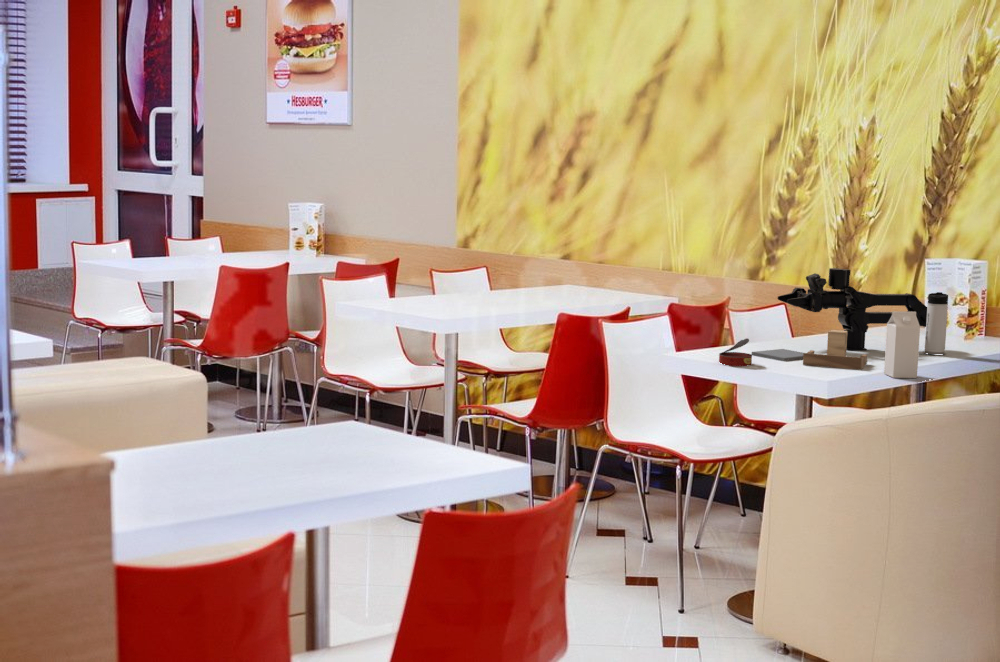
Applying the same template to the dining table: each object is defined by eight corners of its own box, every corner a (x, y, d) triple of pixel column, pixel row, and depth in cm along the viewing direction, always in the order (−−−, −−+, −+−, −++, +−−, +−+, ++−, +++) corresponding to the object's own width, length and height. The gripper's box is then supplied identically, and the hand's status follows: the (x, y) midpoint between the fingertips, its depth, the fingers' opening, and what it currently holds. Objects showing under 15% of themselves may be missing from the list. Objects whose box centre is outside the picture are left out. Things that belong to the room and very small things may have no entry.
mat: (782, 351, 417) (782, 348, 417) (815, 357, 405) (815, 354, 405) (751, 355, 409) (751, 351, 409) (783, 361, 398) (784, 358, 398)
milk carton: (883, 374, 377) (887, 310, 374) (907, 374, 377) (911, 310, 375) (893, 378, 370) (897, 313, 367) (917, 378, 370) (921, 313, 368)
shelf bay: (810, 359, 402) (810, 348, 401) (866, 364, 395) (867, 352, 394) (802, 364, 391) (803, 353, 391) (860, 369, 384) (861, 358, 384)
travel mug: (945, 353, 420) (949, 292, 417) (943, 356, 414) (947, 294, 411) (925, 352, 422) (929, 291, 420) (923, 354, 416) (927, 293, 414)
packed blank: (829, 361, 398) (830, 329, 397) (845, 363, 396) (847, 331, 395) (826, 364, 394) (828, 331, 392) (843, 365, 392) (844, 333, 390)
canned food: (731, 381, 387) (719, 353, 384) (719, 372, 397) (707, 345, 394) (764, 364, 388) (752, 336, 385) (751, 355, 397) (739, 328, 394)
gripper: (818, 272, 430) (773, 272, 428) (840, 277, 412) (794, 277, 410) (816, 305, 432) (772, 305, 429) (838, 312, 413) (792, 312, 411)
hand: (782, 299), depth 420 cm, fingers open, 9 cm apart
